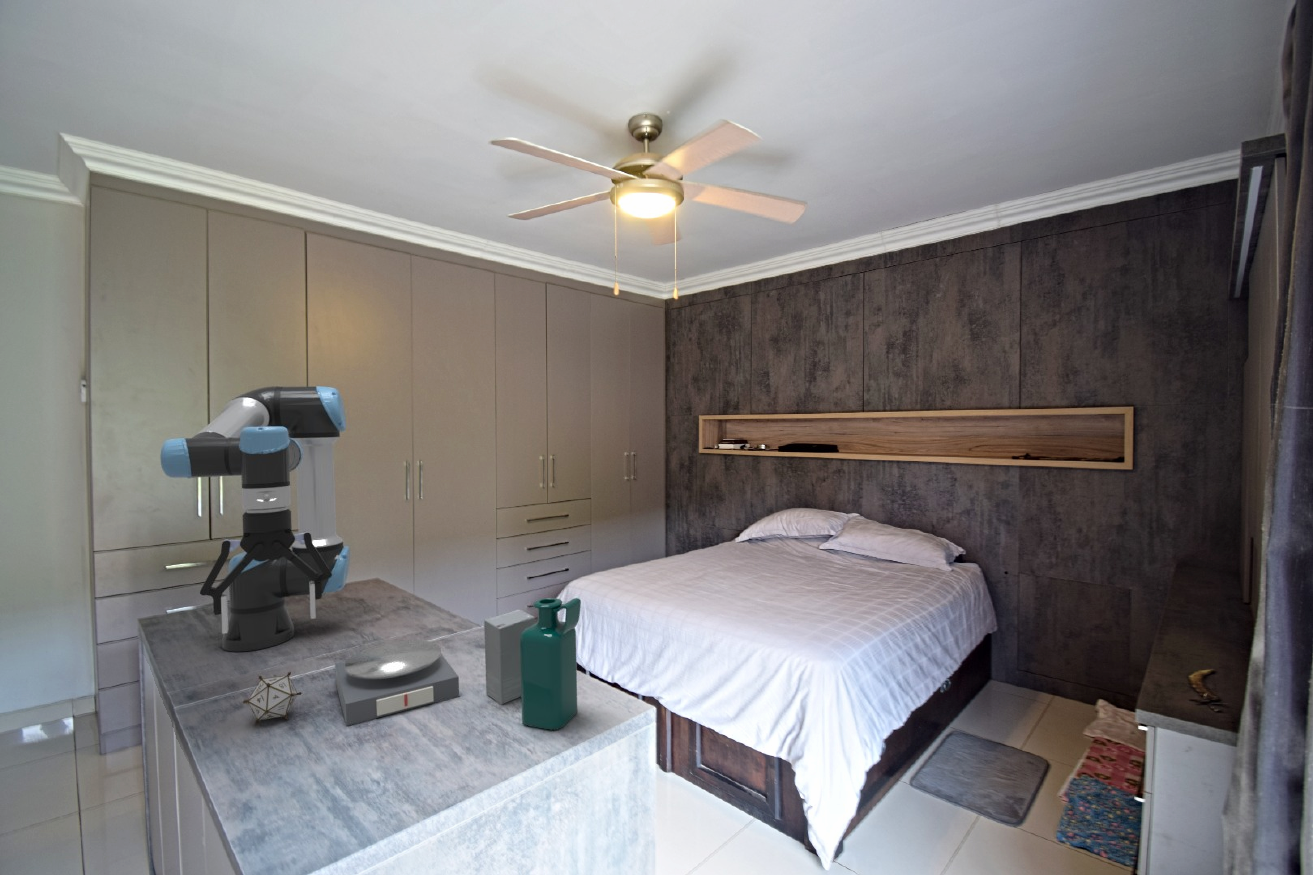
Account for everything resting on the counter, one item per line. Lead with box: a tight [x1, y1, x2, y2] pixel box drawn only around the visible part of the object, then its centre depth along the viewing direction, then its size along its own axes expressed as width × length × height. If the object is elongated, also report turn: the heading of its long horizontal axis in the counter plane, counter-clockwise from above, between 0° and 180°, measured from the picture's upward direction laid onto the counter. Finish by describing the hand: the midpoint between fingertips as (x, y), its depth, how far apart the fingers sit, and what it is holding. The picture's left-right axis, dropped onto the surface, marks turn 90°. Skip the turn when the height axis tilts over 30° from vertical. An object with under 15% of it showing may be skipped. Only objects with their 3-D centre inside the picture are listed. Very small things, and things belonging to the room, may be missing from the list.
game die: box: [241, 670, 303, 726], centre depth 110 cm, size 9×8×10 cm
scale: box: [334, 653, 460, 727], centre depth 121 cm, size 23×20×4 cm
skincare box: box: [483, 608, 536, 705], centre depth 118 cm, size 8×7×16 cm
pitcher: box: [520, 597, 582, 731], centre depth 108 cm, size 10×8×22 cm
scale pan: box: [345, 639, 442, 679], centre depth 121 cm, size 18×18×2 cm
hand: (270, 623), depth 109 cm, fingers open, 13 cm apart
